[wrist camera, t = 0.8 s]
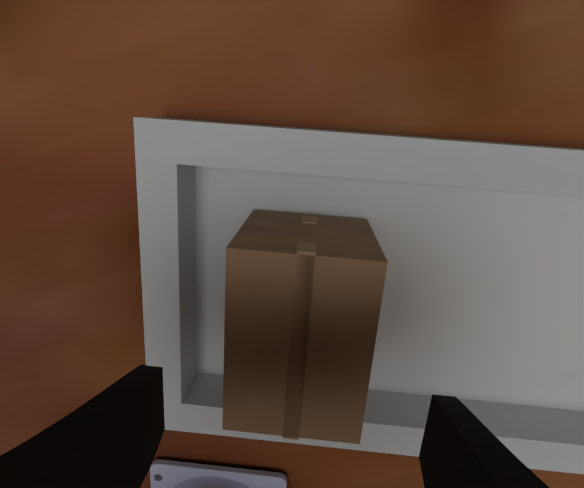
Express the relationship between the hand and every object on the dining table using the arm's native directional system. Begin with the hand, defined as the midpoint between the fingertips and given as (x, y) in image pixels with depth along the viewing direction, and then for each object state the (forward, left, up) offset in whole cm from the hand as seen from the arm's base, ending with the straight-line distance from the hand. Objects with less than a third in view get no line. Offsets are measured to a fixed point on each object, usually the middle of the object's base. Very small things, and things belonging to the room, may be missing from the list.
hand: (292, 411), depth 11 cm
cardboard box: (0, 0, -8) cm, 8 cm away
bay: (0, -5, -9) cm, 11 cm away
